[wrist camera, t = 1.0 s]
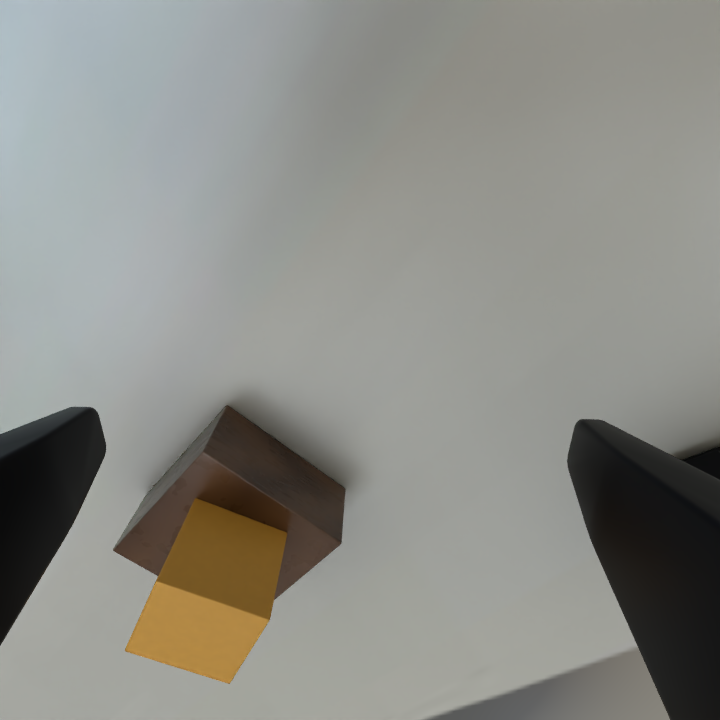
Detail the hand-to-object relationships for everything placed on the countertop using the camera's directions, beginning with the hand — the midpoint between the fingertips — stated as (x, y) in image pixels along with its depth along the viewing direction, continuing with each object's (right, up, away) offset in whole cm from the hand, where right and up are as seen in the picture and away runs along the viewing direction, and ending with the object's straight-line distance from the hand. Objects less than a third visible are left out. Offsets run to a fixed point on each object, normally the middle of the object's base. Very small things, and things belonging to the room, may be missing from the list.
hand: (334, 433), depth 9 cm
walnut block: (-6, -6, +18) cm, 20 cm away
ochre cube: (-6, -8, +15) cm, 18 cm away
